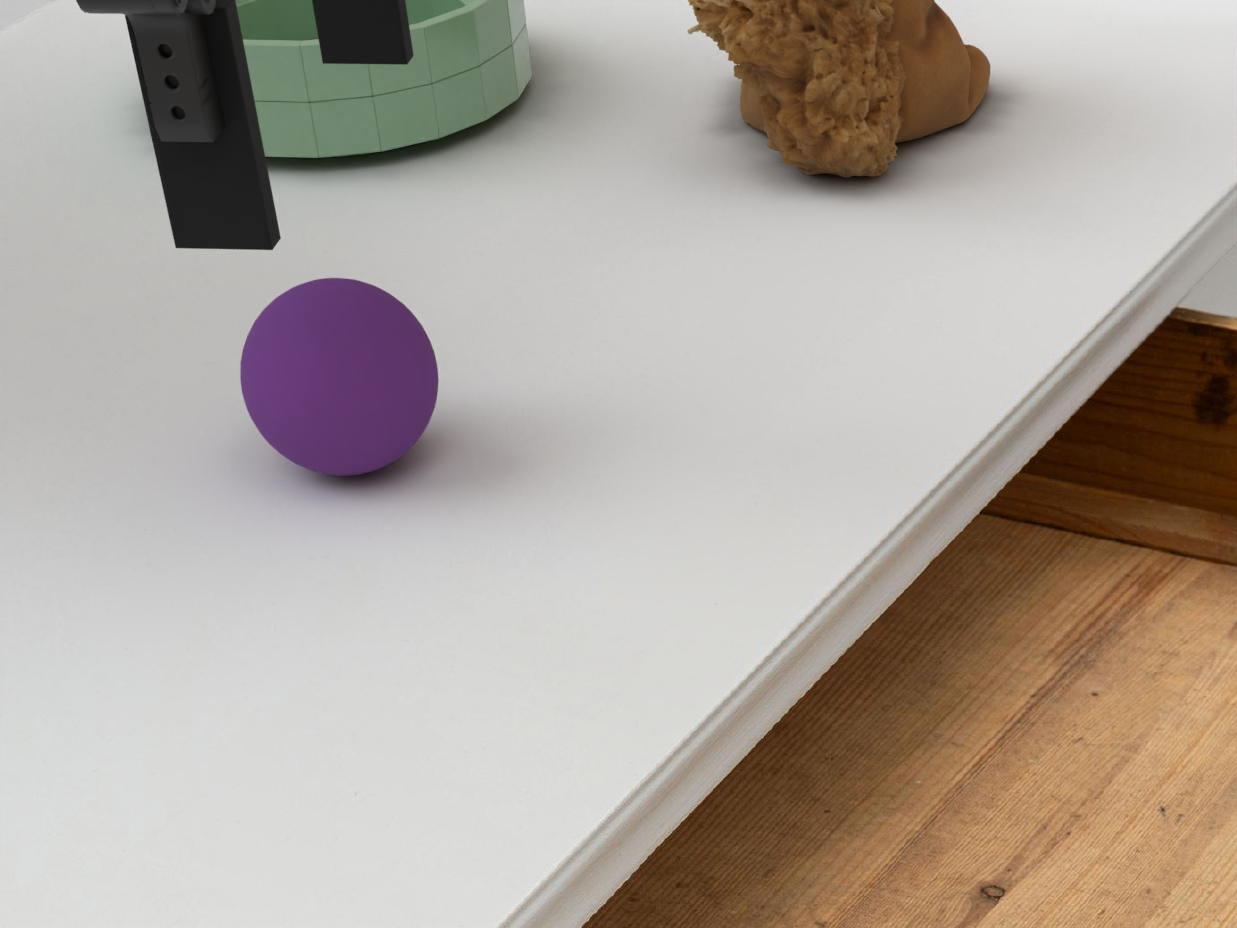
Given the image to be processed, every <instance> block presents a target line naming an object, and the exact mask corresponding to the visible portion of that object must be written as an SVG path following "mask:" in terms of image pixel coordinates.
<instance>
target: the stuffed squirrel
mask: <svg viewBox="0 0 1237 928" xmlns="http://www.w3.org/2000/svg"><path fill="white" fill-rule="evenodd" d="M687 2H688V5H689V6H692V10H693V14H694V17H696V22H697V23H698V24H696V25H694V26H692V27H690V28H689V29H687V30H686V32H687V34H688V35H692V34H693V33H698V32H699V31H700V32H701V33H703V34H705V36H706V37H708V38H710V39H712V41H713V42H715V43H717V44H716V46H717V47H718V50H719V51H723V52H725V53H726V54H728V58H727V60H728V61H729V62H733V64H734V65H733V76H734V78H737V79H738V80H741V84H740V96H739V112H740V114H741V118H742V119H743V120H744V122H746V123H747V124H749V125H750V126H751V127H753V128H755V129H756V130H759V131H762V132H763V133H765V134H766V136H767V140H768V141H767V143H768V144H767V145H766V146H767V147H768V148H769V149H770V150H773V151H777V152H779V155H780V157H781V159H780V160H779V162H781V163H784V164H786V165H787V166H790V167H796V169H798V170H799V171H800V173H802V174H805V175H809V176H813V175H822V174H830V175H837V176H839V177H843V178H851V177H870V178H873V177H880V176H881V175H882V174H883V173H887V170H889V163H891V162H895V157H898V153H897V151H898V149H899V147H898V146H897V145H896V144H898V143H904V142H910V141H913V140H918V139H920V138H923V137H926V136H930V135H932V134H935V133H937V132H940V131H943V130H945V129H948V128H951V127H954V126H956V125H959V124H961V123H963V122H965V121H967V120H968V119H969V118H970V117H971V116H972V115H973V113H974V112H975V111H976V109H977V108H978V107H979V105H980V104H981V102H982V100H983V99H984V96H985V95H986V93H987V92H988V88H989V85H990V77H991V62H990V61H989V59H988V57H987V55H986V54H985V53H984V51H982V50H981V49H980V48H978V47H976V45H975V46H974V45H972V44H965V43H964V40H963V38H962V36H961V35H960V32H959V30H958V28H957V27H956V25H955V23H954V22H953V20H952V19H951V17H950V16H949V15H948V13H946V12H945V10H943V8H941V7H940V5H939V4H937V2H936V1H935V0H687Z"/></svg>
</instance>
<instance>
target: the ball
mask: <svg viewBox="0 0 1237 928" xmlns="http://www.w3.org/2000/svg"><path fill="white" fill-rule="evenodd" d="M241 352H242V353H241V357H240V364H239V365H240V372H239V376H240V379H239V380H240V387H241V388H240V389H241V394H242V398H243V402H244V404H245V407H246V410H247V413H248V414H249V417H250V419H251V421H252V423H253V424H254V426H255V427H256V429H257V430H258V432H259V434H260V435H261V436H262V437H263V439H264V440H265V441H266V442H267V443H268V444H269V445H270V446H271V447H272V448H273V449H274V450H275V451H277V453H278V454H280V456H282V457H284V458H286V459H287V460H289V461H291V462H292V463H293V464H295V465H297V466H300V467H302V468H303V469H307V470H309V471H311V472H315V473H319V474H325V475H328V476H329V475H330V476H338V477H339V476H342V477H343V476H344V477H346V476H347V477H348V476H357V475H364V474H367V473H371V472H375V471H378V470H379V469H382V468H384V467H386V466H388V465H390V464H392V463H394V462H396V461H397V460H399V459H400V458H401V457H403V455H405V454H406V453H407V452H409V451H410V450H411V449H412V448H413V446H414V445H416V443H417V442H418V441H419V439H420V438H421V436H422V435H423V434H424V432H425V430H426V429H427V427H428V425H429V424H430V421H431V419H432V415H433V413H434V411H435V408H436V404H437V399H438V394H439V393H438V392H439V381H440V380H439V370H438V369H439V368H438V363H437V362H438V361H437V359H436V354H435V350H434V346H433V345H432V342H431V340H430V338H429V336H428V334H427V332H426V331H425V328H424V326H423V324H422V323H421V322H420V320H418V318H417V317H416V315H415V314H414V313H413V312H412V311H411V310H410V309H409V308H408V307H407V306H406V304H404V303H403V302H402V301H401V300H399V299H398V298H397V297H395V296H394V295H392V294H391V293H389V292H387V291H386V290H384V289H382V288H380V287H378V286H376V285H374V284H372V283H369V282H364V281H361V280H358V279H353V278H345V277H324V278H318V279H313V280H309V281H307V282H303V283H300V284H297V285H295V286H293V287H291V288H289V289H287V290H286V291H284V292H283V293H280V295H278V296H276V297H275V298H274V299H272V301H271V302H270V303H269V304H268V305H266V307H265V308H264V309H263V310H262V311H261V312H260V313H259V315H258V316H257V318H256V319H255V320H254V322H253V324H252V326H251V328H250V330H249V331H248V334H247V336H246V339H245V342H244V345H243V348H242V351H241Z"/></svg>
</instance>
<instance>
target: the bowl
mask: <svg viewBox="0 0 1237 928" xmlns="http://www.w3.org/2000/svg"><path fill="white" fill-rule="evenodd" d="M235 1H236V6H237V12H238V17H239V22H240V27H241V33H242V38H243V43H244V48H245V54H246V59H247V64H248V69H249V74H250V80H251V85H252V90H253V95H254V101H255V106H256V111H257V116H258V122H259V127H260V132H261V137H262V142H263V148H264V153H265V158H266V157H268V158H269V157H270V158H305V159H307V158H308V159H310V158H312V159H319V158H337V157H338V158H339V157H351V156H359V155H360V156H361V155H368V154H375V153H380V152H387V151H392V150H396V149H400V148H406V147H410V146H412V145H417V144H421V143H426V142H430V141H434V140H439V139H442V138H445V137H447V136H450V135H451V134H455V133H457V132H459V131H463V130H465V129H467V128H470V127H473V126H475V125H478V124H479V123H483V122H486V121H487V120H489V119H490V118H492V117H493V116H495V115H496V114H498V113H499V112H501V111H502V110H504V109H505V108H506V107H508V106H509V105H511V104H513V103H514V102H516V101H517V100H519V98H520V97H521V95H522V94H523V91H524V90H525V89H526V87H527V85H528V83H529V82H530V80H531V79H532V76H533V70H532V61H531V54H530V45H529V35H528V25H527V17H526V9H525V0H405V2H406V8H407V15H408V22H409V28H410V35H411V42H412V48H413V55H414V56H413V57H412V59H411V60H410V61H409V63H408V64H407V65H403V64H323V62H322V56H321V50H320V44H319V39H318V33H317V27H316V21H315V15H314V10H313V4H312V0H235Z"/></svg>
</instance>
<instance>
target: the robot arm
mask: <svg viewBox="0 0 1237 928" xmlns="http://www.w3.org/2000/svg"><path fill="white" fill-rule="evenodd" d="M75 1H76V4H77V5H78V7H79V9H80V10H81V11H82V12H84V14H85V13H87V14H98V15H99V14H100V15H101V14H105V15H109V14H110V15H115V14H116V15H124V18H125V23H126V27H127V31H128V36H129V42H130V46H131V51H132V55H133V60H134V64H135V69H136V72H137V78H138V82H139V86H140V91H141V97H142V101H143V105H144V108H145V109H144V110H145V113H146V119H147V123H148V129H149V133H150V138H151V142H152V148H153V151H154V156H155V160H156V164H157V169H158V173H159V178H160V183H161V187H162V192H163V197H164V202H165V205H166V210H167V214H168V215H167V216H168V219H169V223H170V229H171V233H172V238H173V243H174V247H175V249H191V250H192V249H193V250H194V249H197V250H198V249H199V250H244V251H245V250H251V251H273V250H274V248H275V247H276V246H277V245H278V243H280V240H281V239H282V237H281V232H280V227H279V222H278V217H277V211H276V206H275V205H276V204H275V201H274V195H273V190H272V185H271V180H270V173H269V169H268V165H267V158H266V157H265V153H264V148H263V142H262V137H261V132H260V127H259V122H258V116H257V111H256V106H255V101H254V95H253V90H252V85H251V80H250V74H249V69H248V64H247V59H246V54H245V48H244V43H243V38H242V33H241V27H240V22H239V17H238V12H237V6H236V1H235V0H75ZM312 4H313V10H314V15H315V21H316V27H317V33H318V39H319V44H320V50H321V56H322V62H323V64H403V65H407V64H408V63H409V61H410V60H411V59H412V57H413V56H414V55H413V48H412V42H411V35H410V28H409V22H408V15H407V8H406V2H405V0H312Z"/></svg>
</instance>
